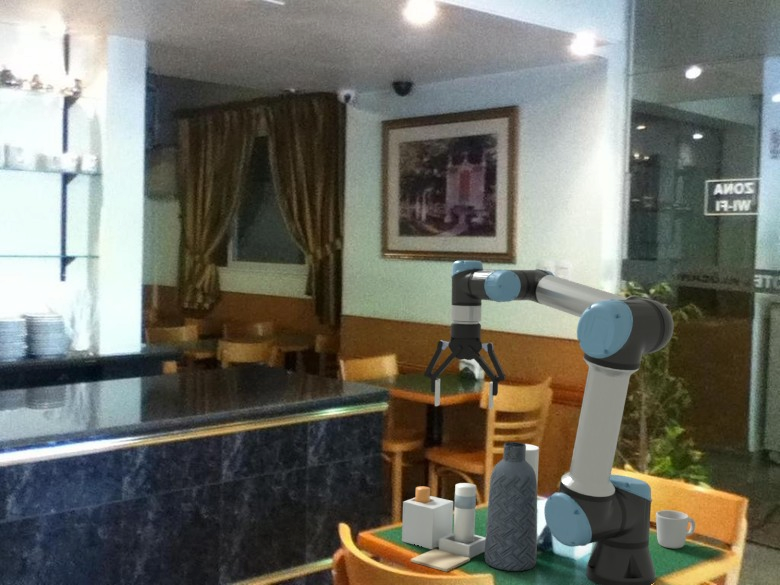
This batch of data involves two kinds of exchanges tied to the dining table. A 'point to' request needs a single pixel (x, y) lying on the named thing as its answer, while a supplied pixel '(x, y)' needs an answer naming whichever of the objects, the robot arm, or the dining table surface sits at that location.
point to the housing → (435, 527)
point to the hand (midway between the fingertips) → (463, 407)
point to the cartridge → (464, 513)
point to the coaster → (440, 560)
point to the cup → (673, 528)
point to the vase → (512, 512)
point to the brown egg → (422, 494)
